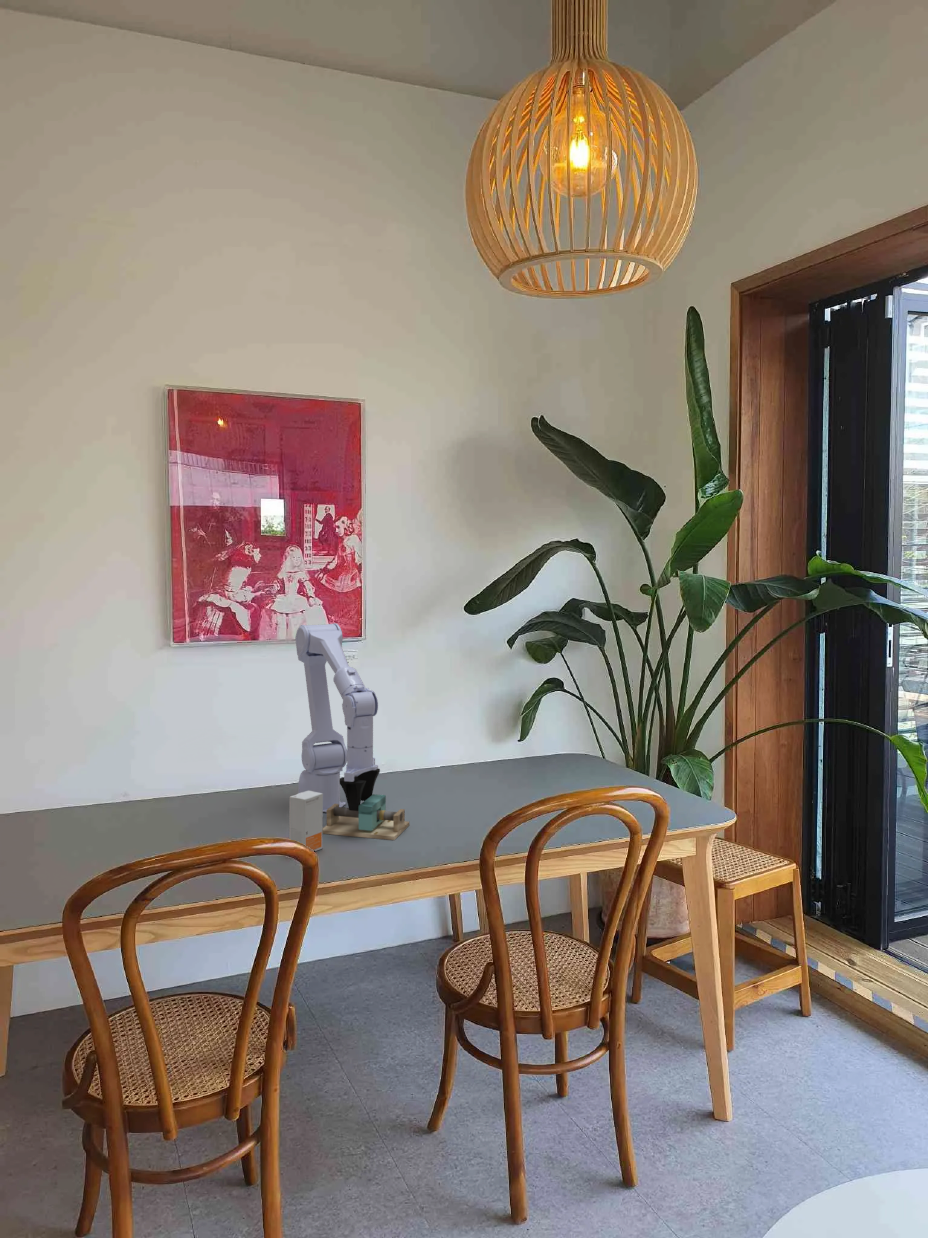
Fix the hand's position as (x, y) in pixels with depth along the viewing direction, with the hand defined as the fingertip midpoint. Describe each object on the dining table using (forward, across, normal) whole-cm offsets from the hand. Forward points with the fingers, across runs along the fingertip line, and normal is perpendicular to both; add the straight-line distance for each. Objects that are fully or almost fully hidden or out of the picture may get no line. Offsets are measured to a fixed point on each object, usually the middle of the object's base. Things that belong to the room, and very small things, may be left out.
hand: (360, 805), depth 217 cm
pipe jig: (+5, 0, -1) cm, 5 cm away
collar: (+4, 0, -3) cm, 5 cm away
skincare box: (+6, -17, +6) cm, 19 cm away
